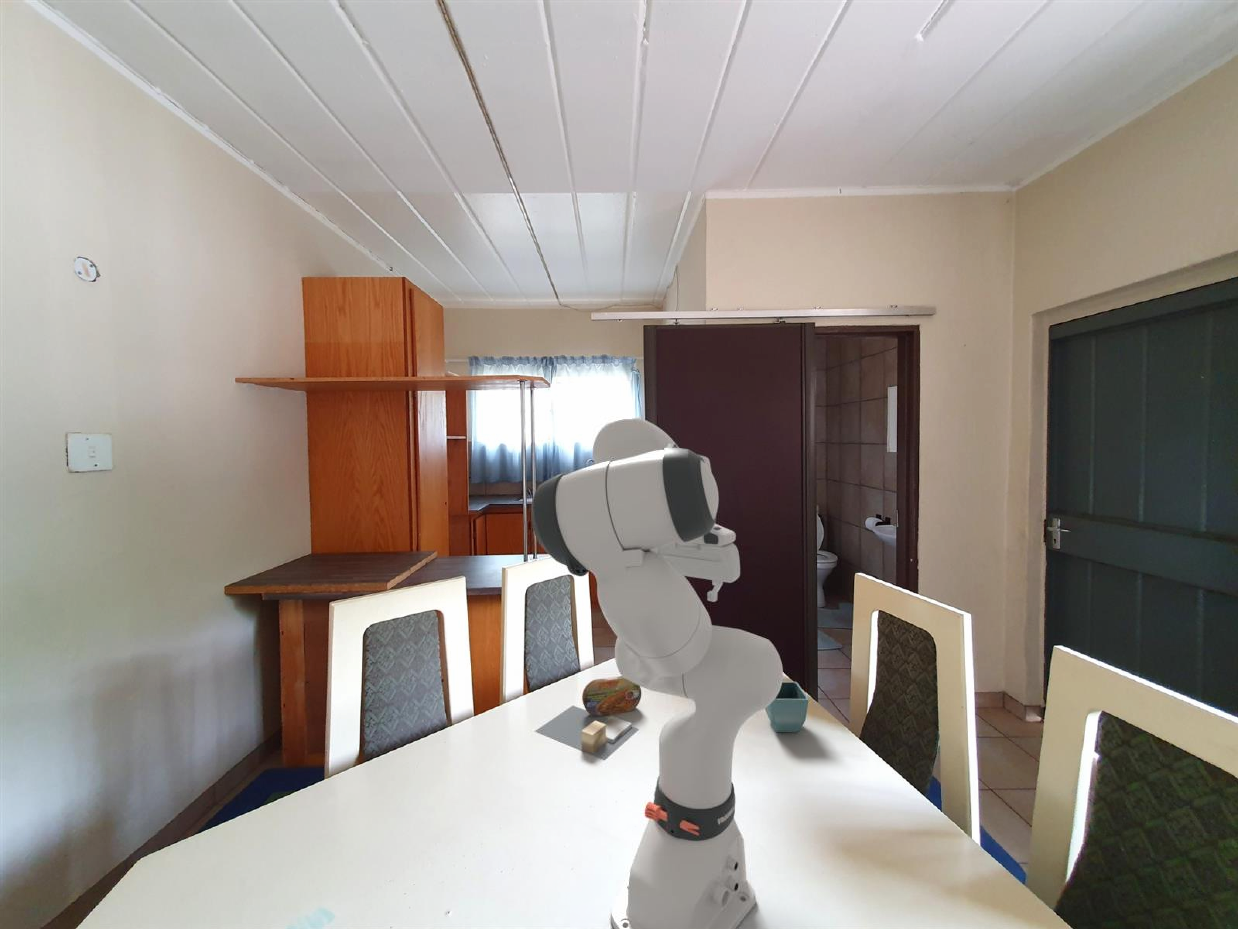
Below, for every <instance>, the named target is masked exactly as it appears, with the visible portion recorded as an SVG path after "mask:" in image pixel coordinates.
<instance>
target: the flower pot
mask: <svg viewBox="0 0 1238 929" xmlns="http://www.w3.org/2000/svg"><path fill="white" fill-rule="evenodd" d="M809 700H810V698H809V697H808V696H807V694H806V693H805V692H804V690H803V689H802V687H801V686H800V684H799V683H798V682H797V681H782V685H781V688H780V691H779V693H778V695H777V697H776V698H775V700H774V701H773V702H772V703H771V704H770V705H769V706H767V707H766V708H765V709H764V710H765V713H766V715H767V717H768V719H769V721H770V723H771V725H772V728H773V729H774V731H775V732H776V733H798V732H799V731H800V730H801V729H802V727H803V726H804V724H805V722H806V718H807V714H808V713H807V712H808V707H809Z"/></svg>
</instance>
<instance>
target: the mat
mask: <svg viewBox="0 0 1238 929" xmlns="http://www.w3.org/2000/svg"><path fill="white" fill-rule="evenodd" d="M608 718H609V717H607V716H600V717H596V716H592V715H590V714H589V713H588V712H587V711H586V709H584V708H581V707H578V706H575V705H571V706H569V707H568V708H567V709H565V710H564V711H562V712H561V713H560V714H558V715H556V716H555V717H554V718H552V719H550V720H549V721H548V722H546V723H545V724H543V725H542V726H540V727H538V728H537V729H536V730H534V732H536V733H537V734H540V735H542V736H545V737H547V738H550V739H552V740H554V741H557V742H559V743H561V744H564V745H567V746H570V747H572V748H574V749H576V750H579V751H581V752H583V753H585V754H586V753H587V754H588V755H590V756H593V757H596V758H598V759H600V760H603V761H605V760H607V759H608V758H609V757H610V756H611V755H612V754H613V753H615V751H617V750H618V749H619V748H620V747H621V746H622V745H624V744H625V742H627V741H629V739H630V738H631V737H632V736H633V735H635V733H636V732H638V731H639V730H640V728H637V727H636V726H632V727H631V728H630V729H628V730H627V731H626V732H625V733H624V734H623V735H622V736H620V737H619V738H618V739H617V740H616V741H615V742H613V743H611V742H609V741H606V743H604V744H603V745H602V746H601V747H600V748H598V749H597V750H596V751H595V752H594V753H591V752H588V751H586V750H583V749H582V730H583V729H585V728H586V727H587V726H589V725H590V724H591V723H593V722H594V721H598V722H600V723H603V722H604V721H605V720H606V719H608Z"/></svg>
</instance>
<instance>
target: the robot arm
mask: <svg viewBox="0 0 1238 929" xmlns="http://www.w3.org/2000/svg"><path fill="white" fill-rule="evenodd" d="M592 459H593V463H594V464H592V465H590V466H587V467H583V468H581V469H577V470H575V471H573V472H570V473H567V472H562V473H560V474H558V475H555V476H553V477H551V478H549V479H548V480H545V481H544V482H543V483H541V484H539V485H538V487H537V488H536V490H535V492H534V496H533V498H532V501H531V506H530V518H531V519H530V520H531V524H532V529H533V532H534V535H535V538H536V540H537V542H538V543H539V545H540V546H541V548H543V550H544V551H546V553H547V554H548V555H549V556H550V557H551V558H552V559H553V560H555V561H556V562H557V563H560V564H561V565H564V566H566V568H567V570H568V572H569V573H570V574H571V575H573V576H577V577H584V576H586V575H587V574H589V572H591V573H592V574H593V575H594V577H595V580H596V584H597V586H596V587H597V588H596V594H597V600H598V604H599V607H600V609H601V612H602V614H603V616H604V618H605V620H606V622H607V623H608V625H609V626H610V628H611V630H612V631H613V633H614V634H615V636H616V637H617V638H616V641H615V645H614V659H615V663H616V667H617V670H618V672H619V674H620V676H622V677H623V678H624V679H626V680H628V681H630V682H632V683H635V684H637V685H639V686H640V688H641V687H642V688H644V689H646V690H648V691H652V692H656V693H661V694H666V695H671V696H673V697H674V696H676V697H680V698H682V699H683V698H684V699H688V700H691V701H693V702H694V704H695V705H694V706H695V708H692V709H689V710H685V711H683V712H680V713H678V714H675V715H674V716H673V717H671V718H669V719H668V720H667V721H666V722H665V724H664V725H663V727H661V728H662V729H661V732H660V734H659V738H658V749H659V750H658V755H659V757H658V761H659V762H658V763H659V764H658V765H659V766H658V767H659V768H658V770H659V772H658V773H659V774H658V777H657V779H656V780H657V781H656V785H655V789H654V794H653V796H654V797H653V802H652V801H648V802H647V803H646V805H645V808H644V817H645V818H646V819H648V821H647V825H646V827H645V829H644V832H643V834H642V837H641V840H640V843H639V845H638V848H637V851H636V853H635V855H634V859H633V860H632V861H633V862H632V865H631V867H630V869H629V872H628V874H627V876H626V878H625V880H624V882H623V884H622V887H621V889H620V891H619V893H618V895H617V897H616V899H615V901H614V903H613V906H612V908H611V912H610V919H609V920H610V922H611V924H612V926H613V929H737V927H738V926H739V925H740V924H741V923H742V921H743V920H744V918H746V916H747V915H748V913H749V912H750V911H751V910H752V909H753V907H754V906H755V904H756V902H757V898H756V892H755V889H754V888H753V886H752V884H751V883H750V882H749V881H748V879H747V867H746V865H747V864H746V852H745V840H744V837H743V835H742V833H741V830H740V829H739V826H738V825H737V824H738V823H737V822H736V820H735V819H736V818H735V813H736V793H735V786H734V783H733V781H732V780H733V776H732V774H733V772H732V770H733V757H734V756H733V755H734V746H735V741H736V737H737V735H738V733H739V732H740V730H741V728H742V726H743V725H744V724H745V723H746V722H747V720H748V719H750V717H752V716H753V715H755V714H756V713H758V712H760V711H762V710H765V708H766V707H767V706H769V705H770V704H771V703H772V702H773V701H774V700H775V698H776V697H777V695H778V693H779V691H780V688H781V685H782V682H783V678H784V672H783V670H784V668H783V663H782V660H781V657H780V654H779V652H778V651H777V648H776V647H775V645H774V644H773V643H772V641H770V639H767V638H765V637H762V636H759V635H757V634H754V633H751V632H748V631H746V630H743V629H739V628H734V627H728V626H720V625H715V624H714V625H713V624H712V620H711V617H710V615H709V612H708V611H707V609H706V607H705V606H704V604H703V602H702V600H701V599H700V597H699V596H698V594H697V592H696V590H695V589H694V587H693V586H692V585H691V584H692V583H690V581H689V580H688V579H687V578H686V577H690V578H697V579H703V580H704V579H705V580H710V581H712V582H711V584H712V586H713V589H712V590H709V591H708V592H707V594H706V595H707V601H709V602H713V603H715V602H716V601H718V593H719V591H720V589H721V587H722V586H723V584H724V583H729V584H731V583H733V582H735V581H736V580H738V579H739V578H740V576H741V564H740V563H741V562H740V554H739V550H738V547H737V545H736V544H735V543H734V542H735V541H736V537H737V535H736V533H735V531H734V530H731V529H729V528H726V527H725V526H724V527H723V526H722V525H719V524H717V523H716V522H717V513H718V508H719V501H720V500H719V499H720V498H719V489H718V484H717V481H716V479H715V477H714V475H713V473H712V467H711V462H710V458H708V457H707V456H705V455H701V454H697V453H696V452H694V451H692V450H690V449H688V448H680V447H679V446H678V445H677V443H676V442H675V441H674V440H673V439H672V438H671V437H670V435H668V433H666V432H665V431H664V430H663V429H662V428H660V427H658V426H657V425H655V424H654V423H652V422H651V421H648V420H646V419H643V418H641V417H636V416H631V415H630V416H628V415H627V416H621V417H616V418H615V419H613V420H611V421H609V422H608V423H606V424H605V425H604V426H602V428H601V429H600V430H599V432H598V433H597V435H596V437H595V439H594V441H593V447H592Z"/></svg>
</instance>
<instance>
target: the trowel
mask: <svg viewBox="0 0 1238 929" xmlns="http://www.w3.org/2000/svg"><path fill="white" fill-rule="evenodd" d="M607 718H608V719H606V720H605V721H604V722H603V723H600V722H598V721H594V722H593V723H591V724H590V725H589V726H587V727H586V728H585V729H583V730H582V749H583V750H586V751H588V752H591V753H594V752H595V751H596V750H597V749H598V748H600V747H601V746H602V745H603V744H604V743H606V741H609V742H611V743H613V742H615V741H616V740H617V739H618V738H619V737H620V736H622V735H623V734H624V733H625V732H626V731H627V730H628V729H630V728H631V727H633V723H632V722H630V721H627V720H624V719H621V718H618V717H616V716H613V715H609V717H607Z"/></svg>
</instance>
